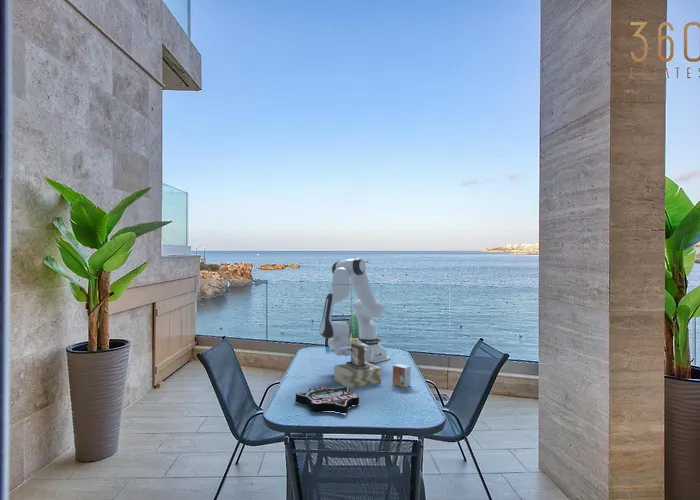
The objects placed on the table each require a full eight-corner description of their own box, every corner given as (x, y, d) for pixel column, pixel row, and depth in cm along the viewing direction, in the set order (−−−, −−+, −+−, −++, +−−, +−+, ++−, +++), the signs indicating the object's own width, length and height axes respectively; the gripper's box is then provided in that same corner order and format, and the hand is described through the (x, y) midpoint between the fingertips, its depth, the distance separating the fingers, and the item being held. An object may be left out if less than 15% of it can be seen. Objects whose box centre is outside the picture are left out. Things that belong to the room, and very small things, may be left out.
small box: (392, 385, 232) (392, 365, 232) (398, 382, 236) (398, 363, 236) (404, 388, 226) (404, 368, 226) (410, 386, 230) (411, 366, 230)
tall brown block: (356, 364, 241) (356, 343, 241) (364, 368, 234) (364, 345, 234) (351, 365, 239) (351, 343, 240) (358, 368, 233) (358, 346, 233)
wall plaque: (343, 383, 221) (373, 401, 195) (343, 391, 221) (373, 411, 195) (291, 390, 208) (315, 411, 182) (291, 399, 208) (315, 421, 182)
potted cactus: (345, 349, 314) (345, 314, 314) (344, 344, 329) (345, 311, 329) (366, 349, 314) (367, 315, 314) (365, 345, 330) (365, 312, 330)
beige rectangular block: (365, 375, 249) (365, 358, 249) (380, 382, 235) (381, 365, 235) (334, 380, 239) (334, 362, 239) (349, 388, 225) (349, 369, 225)
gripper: (329, 343, 243) (342, 348, 231) (360, 340, 253) (374, 344, 241) (329, 355, 243) (341, 360, 231) (360, 351, 253) (374, 356, 241)
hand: (358, 352), depth 236 cm, fingers open, 8 cm apart
